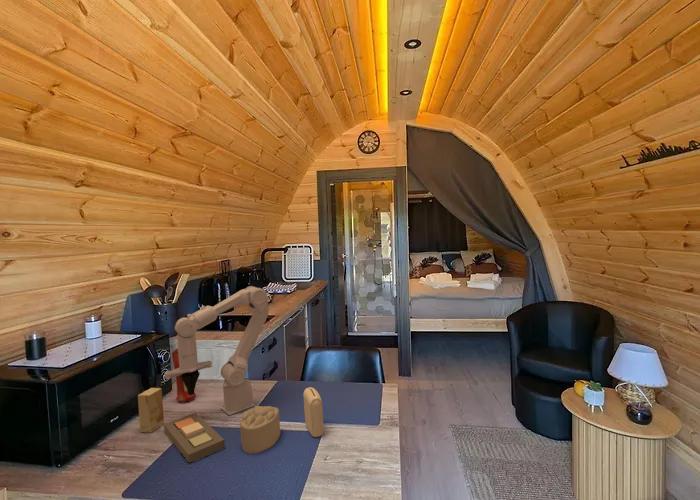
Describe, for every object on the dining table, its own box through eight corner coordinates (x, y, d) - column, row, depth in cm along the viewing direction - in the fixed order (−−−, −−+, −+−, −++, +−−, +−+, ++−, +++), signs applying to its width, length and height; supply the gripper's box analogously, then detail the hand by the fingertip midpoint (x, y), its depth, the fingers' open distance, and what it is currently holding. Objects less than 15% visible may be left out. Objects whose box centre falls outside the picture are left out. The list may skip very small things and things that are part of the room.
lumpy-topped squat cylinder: (283, 429, 116) (281, 402, 116) (269, 453, 103) (267, 423, 103) (251, 429, 117) (249, 402, 117) (234, 453, 104) (231, 423, 104)
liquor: (184, 395, 147) (178, 325, 145) (200, 395, 145) (194, 325, 144) (171, 403, 140) (165, 330, 138) (188, 404, 138) (182, 330, 137)
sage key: (206, 439, 111) (206, 432, 111) (212, 445, 107) (212, 439, 107) (189, 446, 108) (188, 439, 108) (195, 453, 104) (194, 446, 104)
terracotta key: (191, 423, 122) (190, 417, 122) (196, 428, 118) (195, 422, 118) (174, 429, 118) (174, 423, 118) (179, 434, 115) (179, 428, 115)
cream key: (198, 428, 116) (197, 421, 116) (203, 433, 113) (203, 427, 113) (181, 434, 113) (181, 428, 113) (186, 440, 109) (186, 434, 109)
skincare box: (151, 433, 118) (148, 395, 118) (139, 432, 119) (136, 395, 119) (165, 423, 125) (162, 387, 124) (154, 422, 126) (151, 387, 125)
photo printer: (303, 423, 119) (301, 385, 118) (316, 420, 120) (314, 382, 120) (311, 439, 109) (309, 398, 109) (325, 435, 111) (323, 395, 110)
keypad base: (196, 420, 125) (195, 412, 125) (224, 448, 107) (224, 439, 107) (164, 431, 119) (163, 424, 119) (189, 463, 101) (188, 454, 101)
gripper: (167, 362, 116) (171, 405, 116) (213, 350, 125) (217, 390, 126) (161, 357, 121) (165, 398, 122) (206, 346, 131) (209, 384, 131)
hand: (191, 393), depth 124 cm, fingers closed
